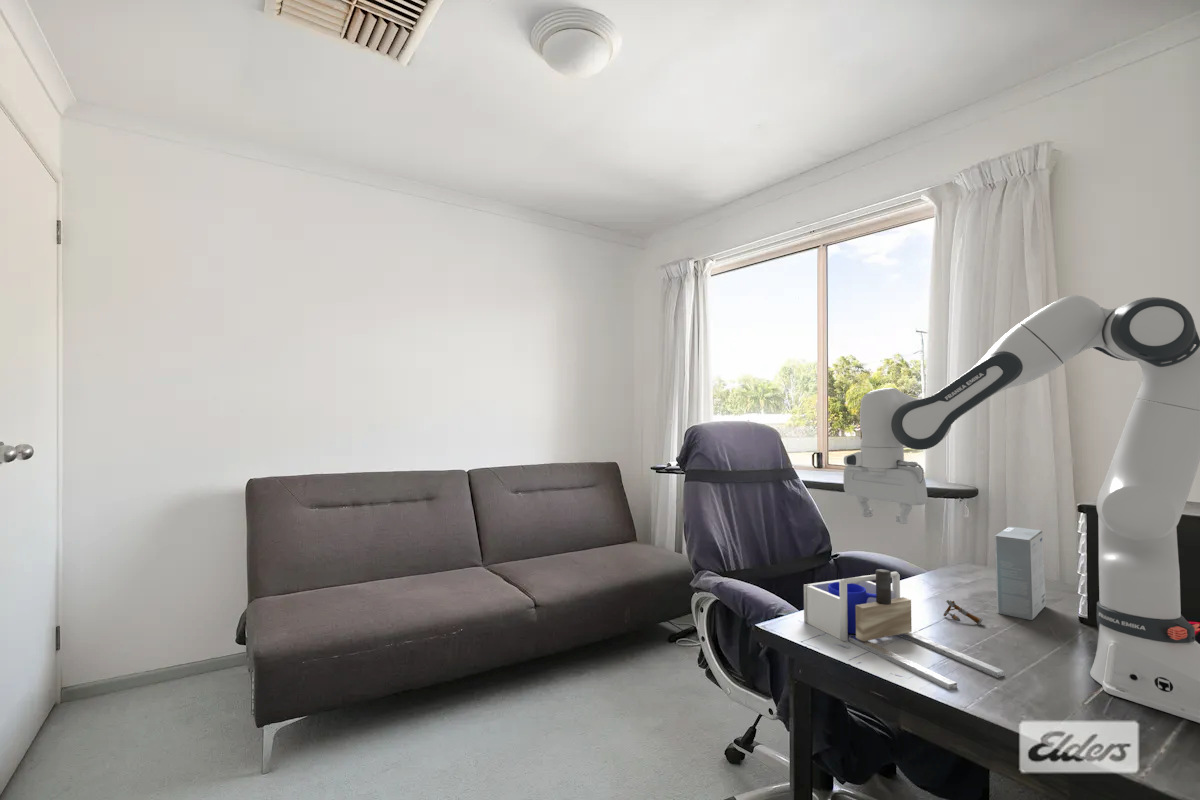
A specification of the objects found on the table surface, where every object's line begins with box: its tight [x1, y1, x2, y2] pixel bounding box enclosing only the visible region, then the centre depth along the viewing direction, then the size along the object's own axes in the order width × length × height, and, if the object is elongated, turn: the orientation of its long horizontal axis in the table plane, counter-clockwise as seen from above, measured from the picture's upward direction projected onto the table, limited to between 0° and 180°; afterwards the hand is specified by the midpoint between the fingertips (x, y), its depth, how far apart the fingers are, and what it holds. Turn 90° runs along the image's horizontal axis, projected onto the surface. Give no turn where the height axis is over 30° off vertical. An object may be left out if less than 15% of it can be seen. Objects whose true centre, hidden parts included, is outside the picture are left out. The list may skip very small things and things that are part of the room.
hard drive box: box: [994, 526, 1047, 621], centre depth 147 cm, size 16×8×20 cm, turn 132°
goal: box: [803, 571, 901, 642], centre depth 136 cm, size 13×18×14 cm
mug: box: [828, 582, 876, 635], centre depth 133 cm, size 8×12×10 cm
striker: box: [855, 568, 913, 641], centre depth 127 cm, size 3×14×14 cm, turn 111°
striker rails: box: [848, 632, 1005, 691], centre depth 118 cm, size 24×15×1 cm, turn 21°
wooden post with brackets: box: [943, 599, 984, 626], centre depth 139 cm, size 2×8×4 cm, turn 44°
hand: (884, 520), depth 129 cm, fingers open, 8 cm apart
